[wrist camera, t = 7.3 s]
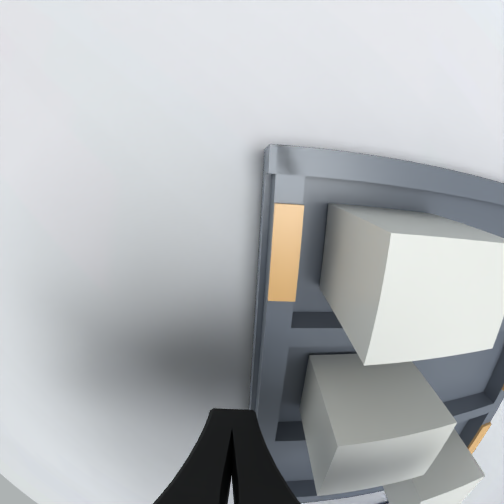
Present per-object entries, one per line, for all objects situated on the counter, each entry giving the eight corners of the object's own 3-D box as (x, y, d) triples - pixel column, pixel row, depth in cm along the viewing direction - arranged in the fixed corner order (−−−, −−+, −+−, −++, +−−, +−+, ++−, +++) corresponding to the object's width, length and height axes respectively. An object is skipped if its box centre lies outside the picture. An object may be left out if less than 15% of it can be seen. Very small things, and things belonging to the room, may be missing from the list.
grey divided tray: (446, 444, 15) (460, 469, 13) (244, 472, 15) (244, 507, 12) (531, 195, 11) (565, 203, 8) (264, 149, 10) (270, 143, 8)
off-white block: (385, 401, 12) (423, 474, 8) (299, 408, 12) (317, 496, 7) (403, 350, 11) (457, 422, 7) (309, 355, 11) (337, 446, 7)
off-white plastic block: (419, 288, 10) (492, 348, 6) (319, 287, 10) (364, 365, 6) (432, 213, 10) (521, 245, 5) (328, 203, 10) (390, 232, 5)
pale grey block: (431, 453, 13) (459, 504, 9) (375, 466, 13) (397, 527, 9) (450, 422, 13) (485, 475, 8) (391, 436, 13) (421, 501, 8)
